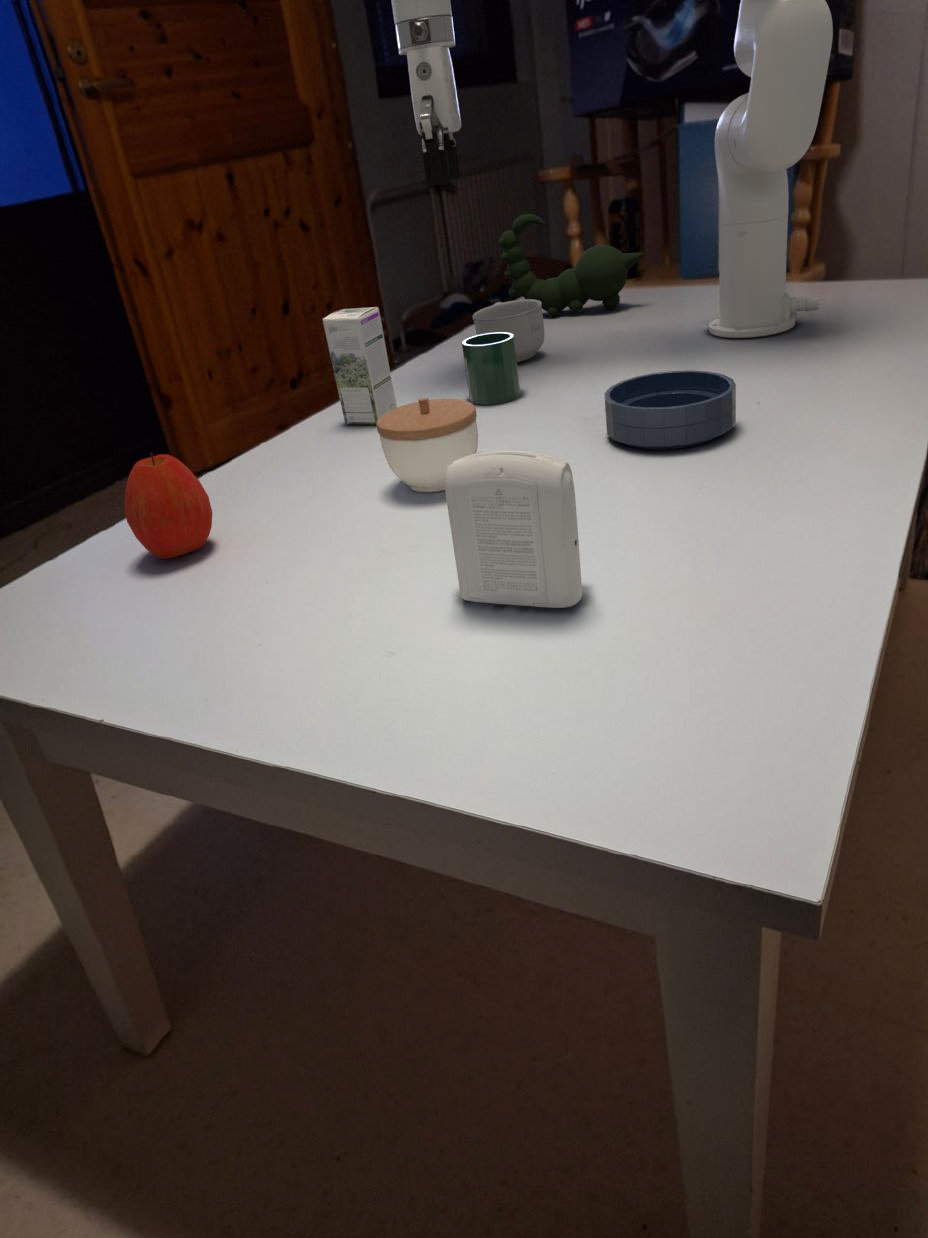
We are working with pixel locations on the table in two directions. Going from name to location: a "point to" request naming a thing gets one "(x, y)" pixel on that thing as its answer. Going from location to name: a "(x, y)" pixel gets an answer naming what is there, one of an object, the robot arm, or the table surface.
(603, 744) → the table surface
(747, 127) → the robot arm
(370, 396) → the syrup box
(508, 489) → the photo printer
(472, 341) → the green cup
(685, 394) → the blue bowl
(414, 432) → the trinket box
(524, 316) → the teacup
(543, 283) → the toy figurine
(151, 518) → the apple
